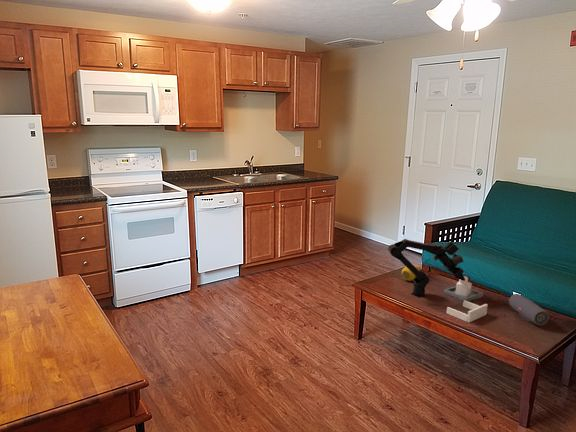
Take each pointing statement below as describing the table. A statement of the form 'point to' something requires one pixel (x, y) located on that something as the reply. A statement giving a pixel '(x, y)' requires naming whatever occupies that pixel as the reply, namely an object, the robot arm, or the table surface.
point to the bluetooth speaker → (528, 309)
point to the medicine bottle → (463, 286)
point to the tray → (470, 297)
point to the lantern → (409, 273)
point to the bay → (472, 314)
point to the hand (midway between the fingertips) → (461, 277)
